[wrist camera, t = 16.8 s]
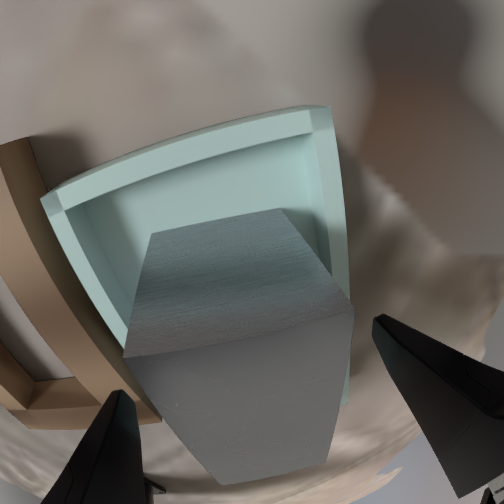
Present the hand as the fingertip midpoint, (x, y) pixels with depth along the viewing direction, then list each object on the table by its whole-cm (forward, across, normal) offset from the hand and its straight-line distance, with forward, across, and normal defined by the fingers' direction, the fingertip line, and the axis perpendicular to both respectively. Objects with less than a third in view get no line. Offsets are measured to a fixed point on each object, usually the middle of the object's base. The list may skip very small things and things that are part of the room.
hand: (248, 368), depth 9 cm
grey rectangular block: (+2, 0, 0) cm, 2 cm away
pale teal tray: (+3, 0, 0) cm, 3 cm away
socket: (+3, +10, -3) cm, 10 cm away
